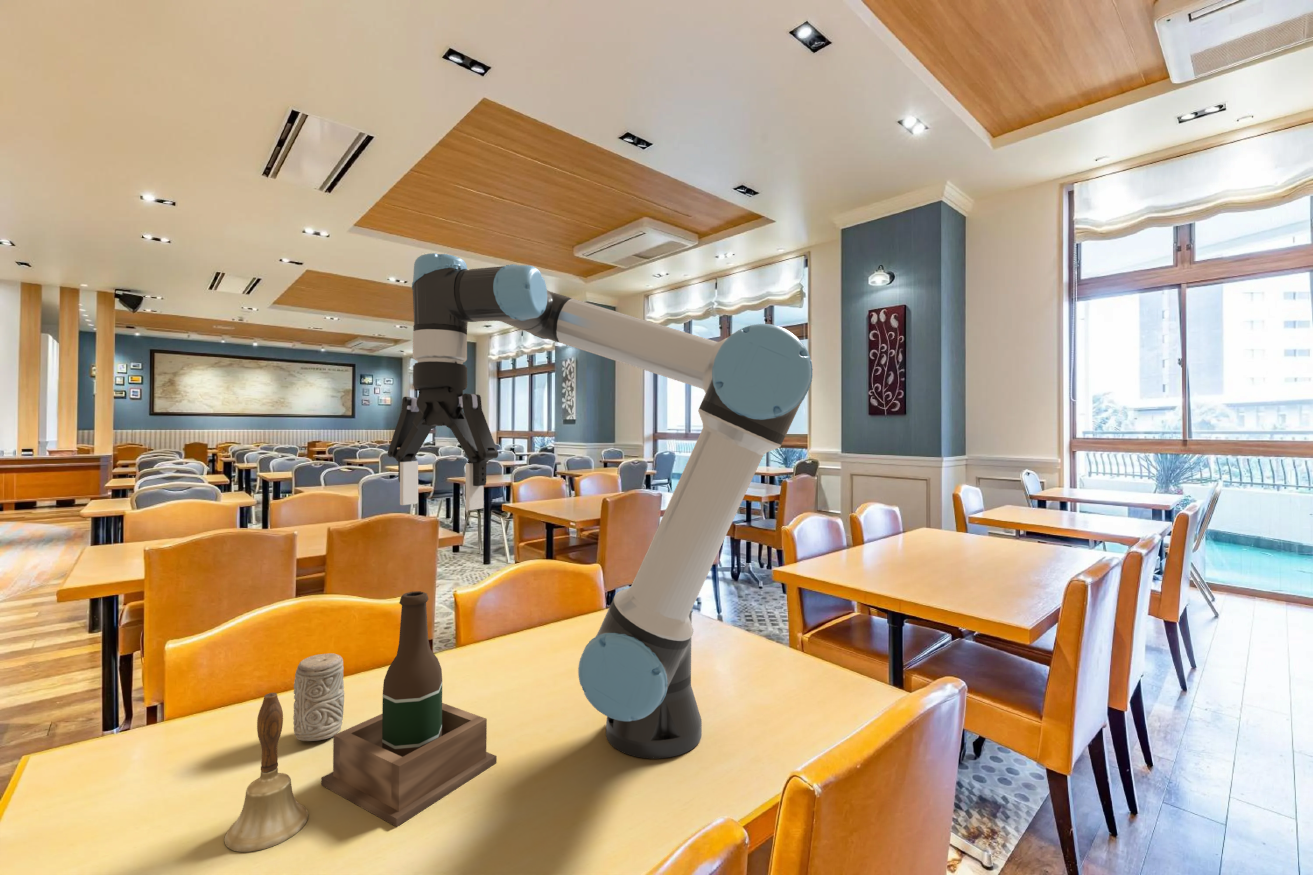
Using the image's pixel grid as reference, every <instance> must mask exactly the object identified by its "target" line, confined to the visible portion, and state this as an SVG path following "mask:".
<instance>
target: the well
mask: <svg viewBox="0 0 1313 875" xmlns="http://www.w3.org/2000/svg"><path fill="white" fill-rule="evenodd" d="M487 721H488V720H487V718H486V717H483V716H480V715H477V714H474V713H471V712H469V711H467V710H463V709H460V708H458V707H455V706H453V705H449V704H447V703H444V702H442V736H441V737H439V738H437V739H435V740H433V741H432V742H430V743H428V744H426V745H424V746H422V747H420V748H418V749H417V750H415V751H413V752H411V753H409V754H407V755H405V756H403V757H401V756H399V755H397V754H395V753H393V752H390V751H388V750H386V749H384V748H382V713H381V714H379V715H376V716H374V717H371V718H369V719H367V720H365V721H363V722H360V723H358V724H356V725H354V726H351V727H349V728H348V729H347V728H346V729H344V730H342V731H339V732H338V733H337V734H335V735H333V737H332V739H333V741H332V742H333V745H332V746H333V748H332V750H333V751H332V755H333V756H332V772H330V773H327V774H326V775H324V776H322V777H320V778H321V779H320V780H321V782H320V784H321V786H323V787H324V788H326V789H328V790H329V791H331V792H333V793H334V794H336V795H339V796H340V797H342V798H344V799H345V800H348V801H349V802H351V803H352V804H354V805H356V806H358V807H360V808H362V809H363V810H366V811H367V812H369V813H371V815H372V814H373V815H374V816H376V817H378V818H379V819H382V820H383V821H385V822H387V823H389V824H390V825H393V826H394V827H397V828H398V827H399V826H400V825H402V824H404V823H406V822H407V821H408V820H409V821H410V819H412V818H414V816H416V815H418V814H419V813H421V812H422V811H424V810H426V809H427V808H429V807H430V806H432V805H433V804H435V803H436V802H438V801H440V800H441V799H442V798H444V797H446V796H447V795H450V794H451V793H452V792H454V791H455V790H457V789H458V788H460V787H462V786H463V785H465V784H466V783H468V782H469V781H471V780H472V779H473V778H475V777H477V776H479V775H480V774H481V773H483V772H485V771H486V770H488V769H489V768H491V767H492V766H494V765H495V764H497V755H495V754H493V753H491V752H487V730H488V729H487Z"/></svg>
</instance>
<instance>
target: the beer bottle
mask: <svg viewBox="0 0 1313 875" xmlns="http://www.w3.org/2000/svg"><path fill="white" fill-rule="evenodd" d="M428 601H429V596H428V593H427V592H424V591H418V590H417V591H409V592H406V593H403V594H402V595H401V596H400V600H399V602H398V603H399V604H400V606H401V610H400V611H401V613H400V623H399V624H400V626H399V627H400V628H399V639H398V640H399V641H398V647H397V651H396V652H397V653H396V656H395V657H394V658H393V660H392V662H391V664H390V665H389V667H388V668H387V671H386V674H385V676H384V679H383V686H382V688H383V689H382V707H381V708H382V710H381V712H382V713H381V714H382V748H384V749H386V750H388V751H390V752H393V753H395V754H397V755H399V756H401V757H403V756H405V755H407V754H409V753H411V752H413V751H415V750H417V749H418V748H420V747H422V746H424V745H426V744H428V743H430V742H432V741H433V740H435V739H437V738H439V737H441V736H442V703H443V674H442V673H443V672H442V667H441V664H440V661H439V658H438V657H437V656H436V654H435V653H434V652H433V650H432V649H431V645H430V641H429V640H430V639H429V629H428V614H427V602H428Z"/></svg>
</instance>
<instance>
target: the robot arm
mask: <svg viewBox="0 0 1313 875" xmlns="http://www.w3.org/2000/svg"><path fill="white" fill-rule="evenodd" d="M412 276H413V279H412V283H411V288H412V289H411V290H412V303H413V304H412V305H413V306H412V307H413V328H412V329H413V331H412V359H414V360H415V361H416V362H415V363H414V364H413V366H412V370H413V371H412V376H413V377H412V385H413V388H414V389H416V390H417V391H418V396H417V397H416V396H403V397H402V401H401V411H400V415H399V418H398V420H397V423H396V426H395V428H394V429H395V430H394V432H393V434H392V435H393V436H392V439H391V441H390V444H389V447H388V449H387V450H388V451H387V456H388V457H389V458H393V459H395V460H396V462H397V464H398V468H397V469H398V470H397V471H398V472H397V473H398V474H397V475H398V476H397V479H398V483H399V505H400V506H407V505H409V506H410V505H417V504H419V461H418V459H417V454H418V453H419V451H420V449H421V447H422V446H423V445H424V442H425V441H426V440H427V438H428V436H429V434H430V433H431V431H432V430H433V429H435V428H436V427H443V426H444V427H445V426H446V427H447V428H448V429H450V430H451V433H453V435H454V437H455V438H456V440H457V442H458V443H459V445H460V447H461V448H462V450H463V451H464V453H465V455H466V456H467V458H468V460H467V461H466V463H465V511H474V510H480V509H484V508H485V507H484V505H485V503H484V502H485V501H484V500H485V499H484V494H485V492H484V491H485V490H484V486H486V484H487V464H488V462H489V461H491V460H493V459H497V458H498V457H499V451H498V449H497V446H496V442H495V441H494V438H493V435H492V433H491V430H490V428H489V424H488V422H487V419H486V417H485V414H484V411H483V409H482V408H483V406H482V397H481V395H480V394H475V393H464V391H466V389H467V388H468V366H466V364H464V363H466V361H468V323H469V322H470V323H475V322H476V323H477V322H502V323H504V324H506V325H509V326H511V327H513V328H517V329H519V330H522V331H523V332H524V331H525V332H526V333H528V334H531V335H533V336H534V337H536V338H540V339H543V340H549V341H553V342H555V343H560V344H563V345H566V346H569V347H572V348H575V349H578V350H581V351H584V352H587V353H591V354H593V355H597V356H600V357H603V358H606V359H609V360H612V361H615V362H618V363H622V364H625V365H628V366H631V367H633V368H637V369H640V370H642V371H645V372H650V373H653V374H655V375H659V376H662V377H665V378H669V379H670V380H674V381H677V382H681V383H684V384H687V385H688V386H693V387H696V388H699V389H702V390H703V391H704V393H705V394H704V396H703V397H702V398H703V399H702V400H701V403H700V405H699V408H698V414H699V417H700V419H701V422H702V429H701V431H700V434H699V436H698V438H697V440H696V442H695V445H694V446H693V449H692V450H691V453H690V456H689V457H688V460H687V463H686V464H685V466H684V468H683V471H682V473H681V476H680V478H679V479H678V482H677V484H676V486H675V488H674V491H673V493H672V496H671V497H670V500H669V503H668V504H667V507H666V509H665V511H664V513H663V516H662V517H661V520H660V522H659V524H658V526H657V529H656V531H655V533H654V535H653V537H652V540H651V542H650V545H649V547H648V549H647V551H646V553H645V556H644V557H643V558H642V559H643V560H642V562H641V564H640V566H639V569H638V571H637V572H636V575H635V577H634V580H633V582H632V584H631V586H626V587H623V588H621V590H619V591H618V592H616V593H615V595H614V596H613V599H612V601H611V603H610V605H609V608H608V610H607V611H606V614H605V617H604V619H603V621H602V623H601V625H600V627H599V629H598V632H597V633H596V635H595V636H594V637H593V638H592V639H591V640H589V642H588V643H587V644H586V645H585V647H584V649H583V651H582V654H581V657H580V658H579V660H578V661H579V663H578V670H577V673H578V679H579V684H580V686H581V690H582V691H583V695H584V697H585V698H586V699H587V701H588V702H589V704H590V705H592V707H593V708H595V709H596V710H597V712H599V713H601V714H602V715H604V716H606V720H605V721H606V723H605V724H606V726H605V727H606V728H605V729H606V730H605V734H606V736H605V737H606V740H607V742H608V743H609V744H610V745H611V746H612V747H613V748H614V749H616V750H617V751H619V752H621V753H623V754H625V755H626V754H627V755H629V756H631V757H636V758H642V759H667V758H673V757H676V756H677V757H678V756H680V755H683V754H686V753H688V752H690V751H691V750H693V749H694V748H695V747H697V745H698V744H699V743H700V742H701V739H702V734H703V733H702V726H703V725H702V724H703V722H702V717H701V713H700V711H699V710H700V709H699V707H698V706H699V705H698V703H697V700H696V697H695V694H694V690H693V687H692V636H694V635H693V634H694V627H693V624H692V622H693V621H692V619H693V617H692V616H693V615H692V614H693V613H694V609H693V608H694V606H695V603H696V601H697V599H698V596H699V595H700V592H701V590H702V588H703V586H704V583H705V581H706V579H707V578H708V575H709V573H710V572H711V571H710V570H711V569H712V567H713V564H714V563H715V560H716V558H717V556H718V553H719V552H720V550H721V546H722V545H723V543H724V541H725V540H726V536H727V535H728V531H729V530H730V528H731V526H732V524H733V522H734V519H735V517H736V515H737V513H738V510H739V508H740V506H741V505H742V502H743V500H744V497H745V495H746V494H747V491H748V490H749V488H750V485H751V482H752V481H753V478H754V476H755V474H756V472H757V470H758V467H759V465H760V463H761V461H762V459H763V457H764V455H765V454H767V453H769V452H771V451H774V450H776V449H779V448H782V447H781V446H782V444H783V443H784V440H785V438H786V436H787V434H788V432H789V430H790V427H791V426H792V423H793V421H794V418H795V417H796V415H797V413H798V410H799V408H800V406H801V405H802V403H803V401H804V399H806V396H807V394H808V393H809V392H808V391H809V390H810V387H811V384H812V383H813V382H812V381H813V370H814V369H813V362H812V358H811V355H810V352H809V351H808V349H807V347H806V346H805V345H804V344H803V342H802V341H801V340H800V339H799V338H798V336H796V335H795V334H794V333H792V332H791V331H789V330H788V329H786V328H784V327H781V326H778V325H775V324H771V323H770V324H769V323H757V324H752V325H751V324H750V325H748V326H745V327H742V328H740V329H738V330H736V331H735V332H733V333H732V334H730V336H728V337H726V338H724V339H722V340H719V341H716V340H712V339H709V338H705V337H703V336H699V335H695V334H694V333H693V334H692V333H689V332H685V331H682V330H679V329H676V328H672V327H669V326H667V325H662V324H658V323H656V322H653V321H649V320H647V319H643V318H638V317H635V316H634V315H633V316H632V315H629V314H626V313H622V312H618V311H615V310H612V309H609V308H607V307H606V308H605V307H602V306H599V305H595V304H592V303H589V302H586V301H583V300H580V299H576V298H572V297H569V296H566V295H562V294H560V293H556V292H553V291H550V290H548V289H547V288H548V287H547V285H546V284H547V283H546V281H545V278H544V277H543V276H542V272H541V271H540V270H539V269H538V268H537V267H535V266H533V265H527V264H524V265H523V264H522V265H519V264H514V263H513V264H506V265H504V266H491V267H481V268H468V265H467V263H466V261H465V260H464V259H463V258H460V257H459V256H455V255H452V254H448V253H441V254H439V253H436V252H435V253H434V252H433V253H432V252H431V253H424V254H422V255H419V256H417V257H416V259H415V260H414V263H413V275H412Z"/></svg>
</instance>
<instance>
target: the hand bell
mask: <svg viewBox="0 0 1313 875" xmlns="http://www.w3.org/2000/svg"><path fill="white" fill-rule="evenodd" d="M283 712H284V710H283V708H282V705H281V703H280V700H279V697H278V693H277V692H269V693H267V694H265V695H264V696H263V700H262V704H261V705H260V709H259V711H258V715H257V720H256V730H257V738H258V740H259V743H260V745H261V746H260V747H261V761H260V762H261V763H260V764H261V765H260V777H258V778H256V779H254V780H253V781H252V782H250V784H248V786H247V788H246V790H245V796H244V802H243V805H242V810H241V812H240V814H239V816H238V818H237V819H236V820H235V821H234V822H233V823H232V824H231V826H230V827H229V828H228V830H227V832H226V834H225V836H224V844H225V846H226V847H227V849H229V850H231V851H234V852H239V853H249V852H256V851H261V850H265V849H268V848H271V847H272V848H273V847H275V846H276V845H279V844H281V843H284V842H285V841H287V840H289V839H290V838H292V837H293V836H294V835H297V833H299V832H300V831H301V830H302V829H303V828H304V827H305V825H306V824H307V822H308V819H309V812H308V809H307V808H306V807H305V805H303V804H301V803H300V802H298V801H297V799H296V798H295V795H294V793H293V792H294V791H293V786H292V779H291V777H290V775H288V774H287V773H284V772H278V771H279V768H278V767H279V761H278V747H279V746H278V745H279V740H280V738H281V735H282V729H283V725H284V713H283Z"/></svg>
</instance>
